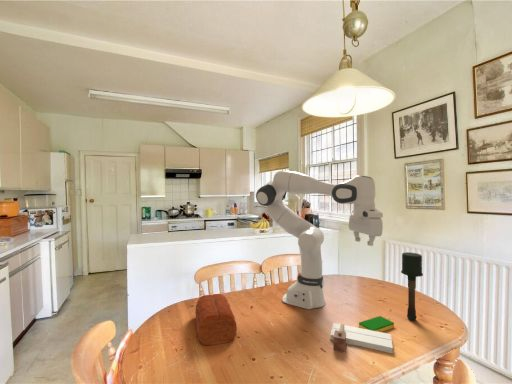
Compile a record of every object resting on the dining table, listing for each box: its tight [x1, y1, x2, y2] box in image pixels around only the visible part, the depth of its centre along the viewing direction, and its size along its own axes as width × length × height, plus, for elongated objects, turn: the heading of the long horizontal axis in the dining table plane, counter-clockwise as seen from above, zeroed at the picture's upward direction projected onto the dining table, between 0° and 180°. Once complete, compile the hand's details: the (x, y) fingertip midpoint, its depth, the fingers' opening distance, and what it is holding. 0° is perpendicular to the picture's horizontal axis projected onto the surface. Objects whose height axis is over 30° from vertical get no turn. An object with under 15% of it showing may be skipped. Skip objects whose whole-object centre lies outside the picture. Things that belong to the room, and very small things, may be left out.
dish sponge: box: [358, 315, 395, 333], centre depth 113 cm, size 7×14×2 cm, turn 117°
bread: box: [195, 293, 238, 346], centre depth 113 cm, size 16×27×11 cm, turn 16°
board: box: [329, 322, 394, 354], centre depth 104 cm, size 22×10×2 cm, turn 66°
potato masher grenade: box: [400, 251, 424, 322], centre depth 120 cm, size 8×9×30 cm
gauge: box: [332, 323, 347, 353], centre depth 102 cm, size 4×13×6 cm, turn 156°
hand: (363, 243), depth 115 cm, fingers open, 8 cm apart
